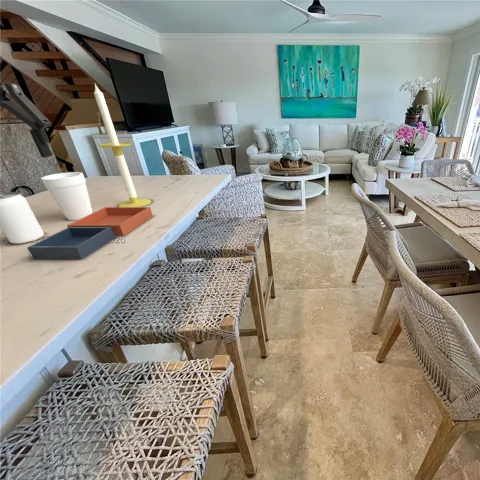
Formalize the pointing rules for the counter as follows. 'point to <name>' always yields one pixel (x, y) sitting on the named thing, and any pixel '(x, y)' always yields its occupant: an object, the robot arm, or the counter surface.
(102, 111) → the candle
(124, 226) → the bin
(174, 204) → the counter surface
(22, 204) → the can
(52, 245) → the can bin
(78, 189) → the foam cup
